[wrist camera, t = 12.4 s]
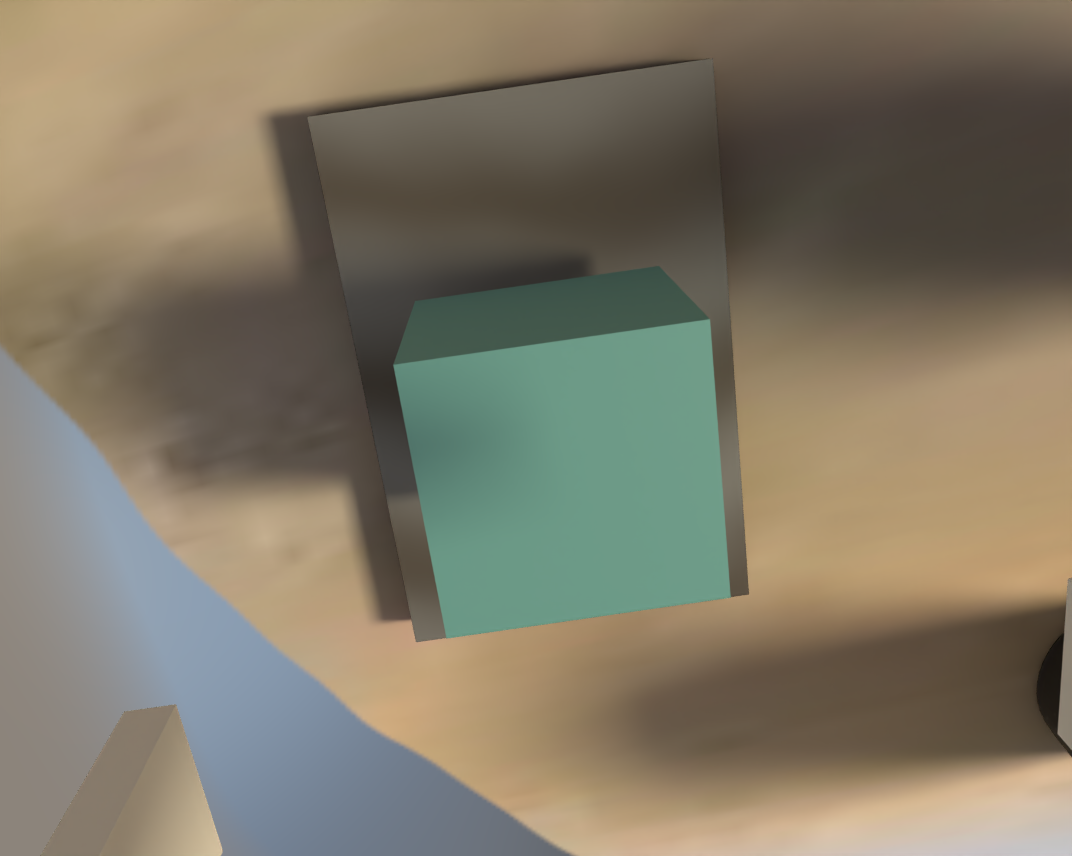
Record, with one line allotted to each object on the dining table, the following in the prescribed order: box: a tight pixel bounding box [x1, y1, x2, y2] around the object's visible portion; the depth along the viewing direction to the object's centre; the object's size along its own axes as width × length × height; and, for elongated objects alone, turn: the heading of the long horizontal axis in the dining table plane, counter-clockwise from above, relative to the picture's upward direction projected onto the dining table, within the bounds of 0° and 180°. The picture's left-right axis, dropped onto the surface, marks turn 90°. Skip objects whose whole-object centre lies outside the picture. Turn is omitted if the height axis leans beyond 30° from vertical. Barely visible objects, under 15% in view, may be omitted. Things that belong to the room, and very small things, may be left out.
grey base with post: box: [307, 58, 749, 642], centre depth 28 cm, size 18×12×10 cm, turn 8°
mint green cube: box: [393, 266, 731, 638], centre depth 26 cm, size 7×7×7 cm
